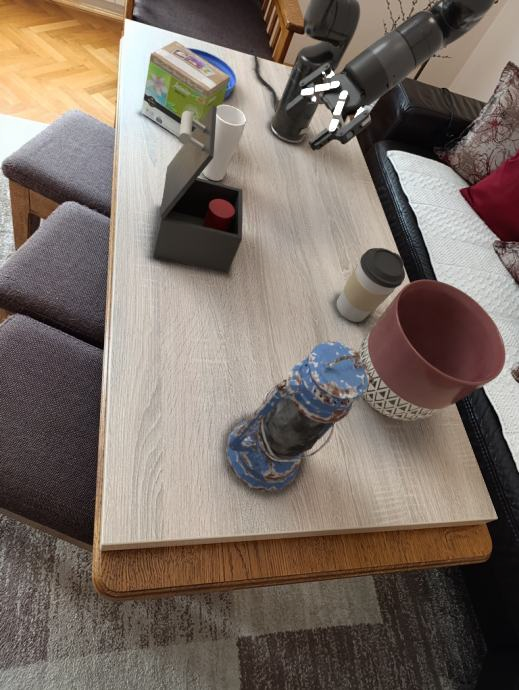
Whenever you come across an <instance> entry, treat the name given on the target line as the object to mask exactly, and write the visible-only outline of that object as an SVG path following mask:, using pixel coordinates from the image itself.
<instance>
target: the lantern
mask: <svg viewBox="0 0 519 690" xmlns="http://www.w3.org/2000/svg"><path fill="white" fill-rule="evenodd" d="M369 383H370V384H374V379H373V377H372V376H369V372H368V369H367V366H366V364H365V362H364V360H363V359H362V358H361V357H360V355H359V354H358V351H357V350H355V349H354V348H352V347H350V346H349V345H347V344H345V343H342V342H339V341H335V340H332V341H330V340H329V341H323V342H320V343H319V344H316V345H315V346H314V347H313V349H311V351H310V353H309V354H308V355H307V357H306V358H305V359H303V360H301V362H298V363H297V364H295V365H294V366H293V368H292V369H291V370H290V372H289V373H288V375H287V379H285V378H284V379H283V380H282V381H281V382H279V383H277V384H274V385H273V386H271V387H270V388H269V389H268V390H267V392H266V393H265V395H264V397H263V400H262V402H261V403H260V405H258V407H257V408H256V409H255V410H254V412H253V413H252V414H251V415H250V417H249V418H247V419H245V420H244V421H241V422H239V423H238V424H236V425H235V427H234V428H233V429H232V431H231V432H230V433H229V435H228V437H227V442H226V448H225V452H226V453H225V454H226V458H227V462H228V467H229V468H230V470H231V471H232V472H233V474H234V476H235V477H236V478H237V480H238V481H240V482H241V483H243V485H245V486H247V488H249V489H252V490H255V491H259V492H263V493H271V492H277V491H281V490H282V489H284V488H286V487H288V485H290V484H291V483H293V481H294V480H295V477H296V476H297V474H298V472H299V470H300V464H301V462H302V460H305V459H308V458H310V457H313V456H314V455H316V454H317V453H319V452H320V451H321V450H323V448H325V446H326V445H328V443H329V442H330V440H331V438H332V436H333V434H334V430H335V423H338V422H339V421H341V420H343V419H344V418H346V417H347V416H348V415H349V413H350V411H351V409H352V407H353V404H354V403H355V402H356V401H358V399H359V398H360V397H361V396H363V395H362V394H363V393H364V392H365V390H366V388H367V386H368V385H369ZM329 430H331V431H330V434H329V435H328V437H327V439H326V440H325V442H323V444H322V445H321V446H320V447H319V448H318V449H316V450H315V451H313V452H311V453H309V454H307V455H305V456H303V453H306V452H308V451H310V450H312V449H313V447H314V446H315V445H316V444H317V442H318V441H319V440H321V439H322V438H324V436H325V435H326V434H327V432H329Z"/></svg>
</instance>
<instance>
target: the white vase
mask: <svg viewBox="0 0 519 690" xmlns="http://www.w3.org/2000/svg"><path fill="white" fill-rule="evenodd" d="M246 122H247V118H246V115H245V114H244V112H243V111H242V110H241V109H238V108H237V107H236V106H233V105H229V104H222V105H219V106H217V113H216V128H215V143H214V158H213V159H212V160H211V161H210V163H209V164H208V165H207V166H206V168H205V169H204V170H203V171H202V172H201V174H203V176H204V177H205V178H207V180H209V181H212V182H219V181H222V180H223V179H224V178H225V176H226V173H227V170H228V168H229V166H230V164H231V161H232V159H233V157H234V155H235V152H236V150H237V148H238V146H239V143H240V141H241V139H242V136H243V133H244V130H245V126H246Z"/></svg>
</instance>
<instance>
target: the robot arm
mask: <svg viewBox="0 0 519 690" xmlns="http://www.w3.org/2000/svg"><path fill="white" fill-rule="evenodd" d="M495 2H496V0H438V1H436V3H434V4H433V5H431V6H430V7H429V8H428V9H423V10H419V11H417V12H415V13H413V14H412V15H411V16H410V17H408V18H407V19H405V20H404V21H402V22H401V23H400V24H399V25H398V26H396V27H395V28H393V30H390V31H389V32H388V33H386V34H384V35H383V36H381V37H380V38H378V39H376V40H375V41H374V42H372V43H371V44H370V45H369V46H368V47H367V48H364V50H363V51H361V52H360V53H359V54H357V55H356V56H355V57H354V58H352V59H351V60H349V62H347V63H346V64H345V65H344V67H343V68H342V70H341V71H340V72H338V73H334V72H336V70H337V69H338V67H339V65H340V63H341V61H342V60H343V57H344V55H345V53H346V52H347V50H348V48H349V46H350V44H351V42H352V40H353V38H354V36H355V35H356V32H357V28H358V26H359V22H360V18H361V5H360V3H359V0H309V2H308V5H307V7H306V10H305V13H304V16H303V17H304V18H303V30H304V34H305V35H306V36H307V37H308V38H310V39H312V40H316V41H318V42H317V43H315V44H312V45H306V46H303V47H302V48H300V49H299V51H298V52H297V55H296V57H295V61H294V63H293V66H292V68H291V71H290V73H289V76H288V79H287V81H286V84H285V87H284V89H283V92H282V94H281V98H280V99H277V93H276V92H275V90H274V88H273V86H271V84H269V83H268V82H267V81H266V80H265V79H263V77H262V76H261V75H260V73H259V61H258V55H257V50H256V49H255V48H252V49H250V52H252V53H253V56H254V62H255V67H254V70H255V74H256V77H257V78H258V79H259V80H260V82H261V83H262V84H263V85H265V86H266V87H267V88H268V89H269V90H270V91H271V92H272V95H273V106H274V115H273V118H272V120H271V122H270V124H269V125H270V126H269V128H270V130H271V132H272V133H273V134H274V135H275V137H277V138H278V139H279V140H281V141H283V142H286V143H289V144H299V143H301V142H303V141H304V139H305V136H306V133H309V131H310V128H311V126H310V124H311V122H312V120H313V118H314V116H315V113H316V111H317V109H318V107H319V105H324V106H325V108H326V109H328V110H329V111H330V113H331V116H332V119H331V122H330V123H329V127H328V128H327V127H325V128H324V129H322V130H321V131H320V132H319V133H317V134H316V135H315V136H313V137H312V138H310V140H308V142H307V143H308V146H309V147H310V149H311V151H312V152H315V151H320V150H321V149H322V148H324V147H325V146H327V145H328V144H329V143H330V142H332V141H334V140H336V141H338V142H340V144H341V145H347V143H349V142H351V141H352V139H354V138H355V137H356V136H357V135H358V134H360V133H361V132H362V131H363V130H364V129H366V128H368V127H369V125H371V123H372V119H371V114H370V111H369V110H368V109H364V108H365V107H368V106H370V105H372V104H373V103H375V102H376V101H378V100H379V99H380V98H381V97H383V96H384V95H385V94H386V93H388V92H389V91H390V90H392V89H393V88H395V87H396V86H398V84H400V83H402V81H404V80H405V79H406V78H407V77H408V76H409V75H410V74H411V73H412V72H413V71H414V70H416V69H417V68H419V67H420V66H422V65H423V64H424V63H425V62H427V61H428V60H429V59H431V58H432V57H433V56H435V54H437V53H438V52H439V51H440V50H442V49H444V48H446V47H447V46H449V45H450V44H453V43H454V42H456V41H457V40H459V39H460V38H462V37H463V36H465V35H466V34H468V33H469V32H470V31H471V30H473V29H474V28H475V27H476V26H477V25H478V24H480V22H481V21H482V20H483V19H484V18H485V16H486V15H487V14H488V13H489V11H490V10H491V9H492V7H493V6H494V4H495ZM351 116H353V118H352V119H351V120H349V122H348V119H349V117H351Z"/></svg>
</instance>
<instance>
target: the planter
mask: <svg viewBox="0 0 519 690" xmlns="http://www.w3.org/2000/svg"><path fill="white" fill-rule="evenodd" d="M357 353H358V354H359V355H360V357H361V358H362V359H363V360H364V362H365V364H366V366H367V369H368V372H369V376H372V377H373V379H374V384H370V383H369V385H368V386H367V388H366V390H365V392H364V393H363V394H362V395H361V396H362V397H363V399H364V400H365V401H366V402H367V404H368V405H370V407H371V408H372V409H374V410H375V411H377V412H378V413H380V414H382V415H383V416H385V417H388V418H390V419H393V420H398V421H404V422H405V421H406V422H409V421H419V420H423V419H426V418H429V417H432V416H434V415H437V414H438V413H441V412H442V411H444V410H446V409H447V408H449V407H451V406H452V405H454V404H456V403H457V402H459V401H460V400H462V399H464V398H466V397H467V396H469V395H471V394H472V393H474V392H476V391H478V390H479V389H481V388H483V387H484V386H486V385H488V384H489V383H490V382H492V381H493V380H495V379H497V377H498V376H499V375H500V374H501V373H502V371H503V369H504V367H505V363H506V346H505V342H504V339H503V336H502V334H501V332H500V329H499V328H498V326H497V324H496V322H495V321H494V320H493V318H492V317H491V316H490V315H489V313H488V312H487V311H486V309H484V307H483V306H482V305H481V304H479V303H478V302H477V301H476V299H474V298H472V296H470V295H469V294H467V292H464V291H462V290H461V289H459V288H458V287H455V286H453V285H451V284H449V283H446V282H443V281H439V280H434V279H419V280H414V281H411V282H409V283H407V284H406V285H404V286H403V287H402V288H401V289H400V291H399V292H398V293H397V295H396V296H394V298H393V299H392V300H391V302H390V304H388V306H387V308H386V309H385V311H384V312H383V313H382V314H381V316H380V317H379V318H378V319H377V320H376V322H375V323H374V324H373V326H372V327H371V329H370V330H369V332H368V333H367V334H366V336H365V337H364V338H363V340H362V342H361V343H360V346H359V348H358V351H357Z"/></svg>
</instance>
